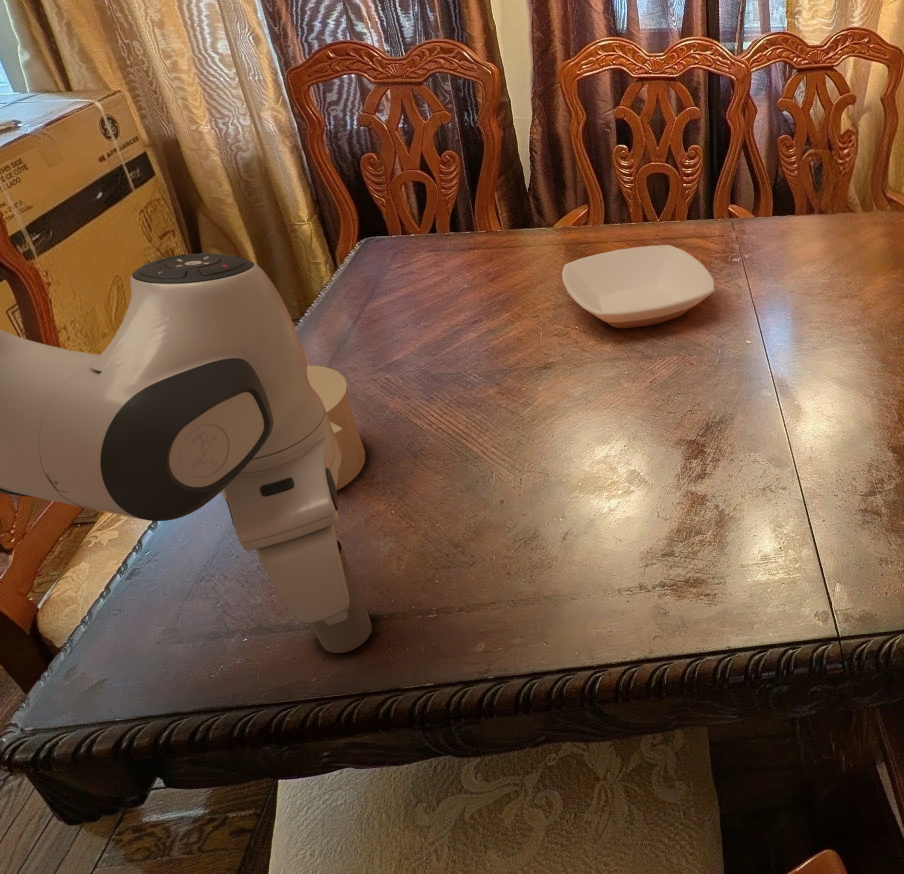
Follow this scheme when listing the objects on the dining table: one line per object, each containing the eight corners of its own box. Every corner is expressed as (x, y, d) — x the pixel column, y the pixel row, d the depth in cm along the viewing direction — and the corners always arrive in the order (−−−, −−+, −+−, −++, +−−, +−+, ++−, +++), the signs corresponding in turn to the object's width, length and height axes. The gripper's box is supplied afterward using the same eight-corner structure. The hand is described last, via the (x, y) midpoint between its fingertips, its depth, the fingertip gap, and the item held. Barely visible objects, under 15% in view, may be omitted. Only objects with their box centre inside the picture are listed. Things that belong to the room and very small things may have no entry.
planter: (382, 623, 74) (353, 542, 68) (349, 660, 71) (314, 579, 65) (344, 609, 76) (311, 529, 70) (309, 645, 73) (272, 565, 66)
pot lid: (261, 457, 81) (247, 424, 78) (196, 413, 87) (181, 382, 85) (374, 397, 89) (364, 365, 87) (306, 361, 96) (295, 331, 93)
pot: (305, 528, 85) (276, 458, 80) (220, 467, 94) (188, 400, 88) (401, 469, 93) (381, 401, 87) (314, 418, 102) (290, 353, 96)
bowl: (731, 324, 119) (731, 292, 116) (591, 354, 113) (587, 321, 110) (678, 268, 135) (677, 238, 132) (553, 292, 129) (549, 261, 126)
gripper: (226, 398, 68) (280, 518, 76) (237, 551, 53) (303, 680, 61) (304, 378, 70) (349, 497, 78) (336, 520, 55) (387, 648, 63)
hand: (329, 579), depth 70 cm, fingers open, 8 cm apart
